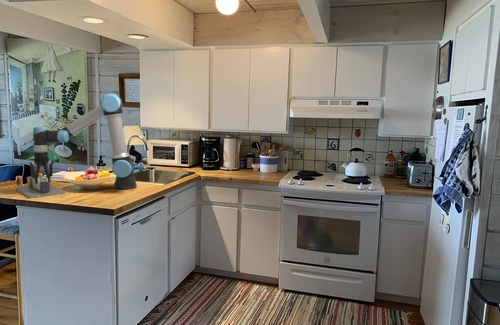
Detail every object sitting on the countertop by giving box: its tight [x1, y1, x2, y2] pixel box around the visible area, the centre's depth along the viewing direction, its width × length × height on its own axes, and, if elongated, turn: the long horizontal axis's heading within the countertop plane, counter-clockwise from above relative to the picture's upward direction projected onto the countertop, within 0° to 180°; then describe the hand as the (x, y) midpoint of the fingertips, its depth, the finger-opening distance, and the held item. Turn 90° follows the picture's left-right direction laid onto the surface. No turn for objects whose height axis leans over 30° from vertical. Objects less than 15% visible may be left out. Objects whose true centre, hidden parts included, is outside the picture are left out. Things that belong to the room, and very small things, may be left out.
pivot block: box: [26, 175, 42, 188], centre depth 238 cm, size 5×7×8 cm
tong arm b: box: [32, 178, 46, 192], centre depth 228 cm, size 19×2×6 cm, turn 47°
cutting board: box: [15, 184, 66, 199], centre depth 231 cm, size 30×20×1 cm, turn 47°
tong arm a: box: [39, 177, 50, 192], centre depth 230 cm, size 19×2×6 cm, turn 46°
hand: (42, 188), depth 227 cm, fingers open, 4 cm apart
